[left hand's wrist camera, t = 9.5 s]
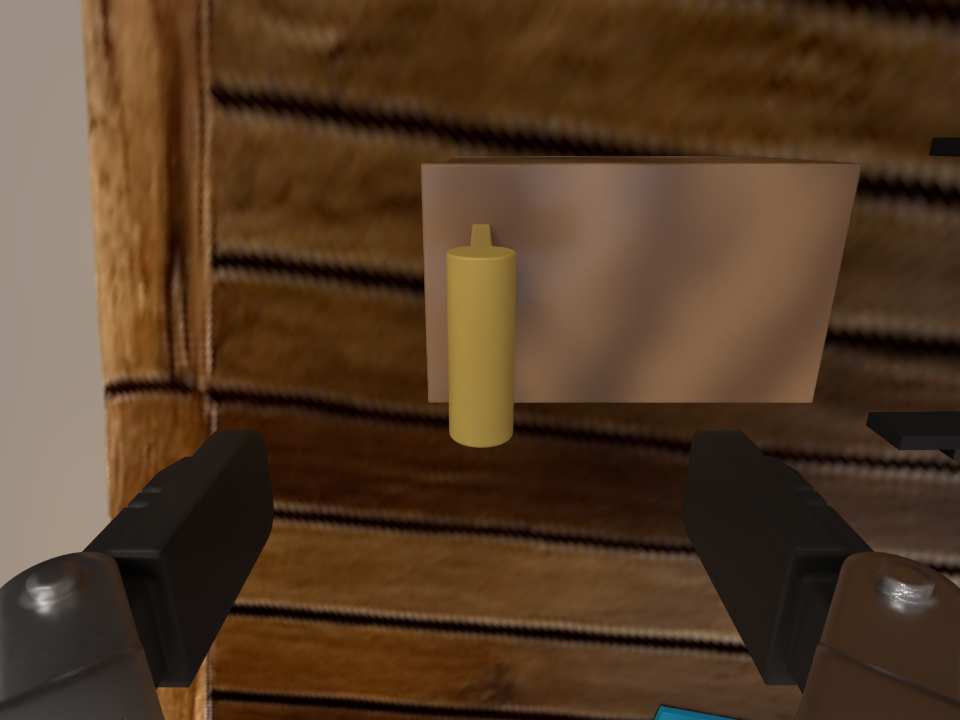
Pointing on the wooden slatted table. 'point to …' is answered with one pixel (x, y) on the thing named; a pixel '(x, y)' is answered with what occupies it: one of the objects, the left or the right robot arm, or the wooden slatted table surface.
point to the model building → (684, 715)
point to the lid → (627, 283)
